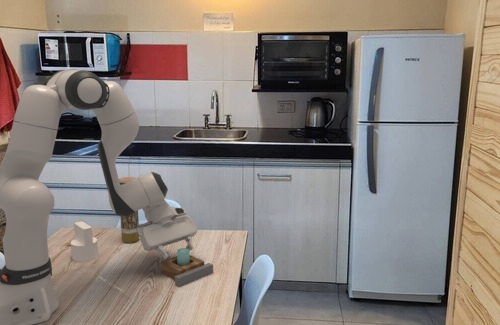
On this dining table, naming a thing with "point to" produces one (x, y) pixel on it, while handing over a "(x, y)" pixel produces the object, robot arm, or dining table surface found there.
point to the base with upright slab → (84, 243)
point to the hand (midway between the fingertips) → (179, 253)
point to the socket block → (172, 269)
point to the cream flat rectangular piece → (193, 274)
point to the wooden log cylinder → (129, 221)
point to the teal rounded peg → (183, 257)
